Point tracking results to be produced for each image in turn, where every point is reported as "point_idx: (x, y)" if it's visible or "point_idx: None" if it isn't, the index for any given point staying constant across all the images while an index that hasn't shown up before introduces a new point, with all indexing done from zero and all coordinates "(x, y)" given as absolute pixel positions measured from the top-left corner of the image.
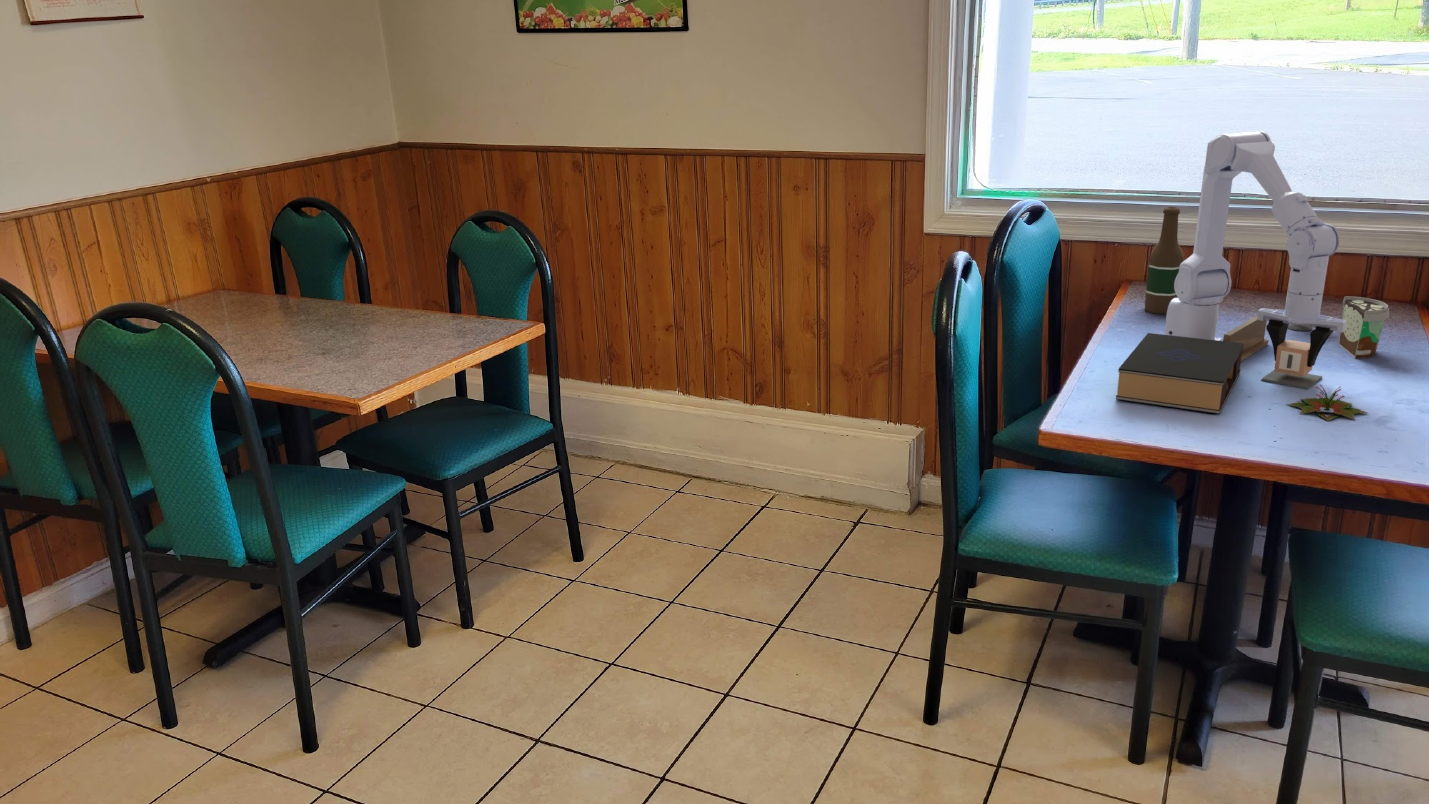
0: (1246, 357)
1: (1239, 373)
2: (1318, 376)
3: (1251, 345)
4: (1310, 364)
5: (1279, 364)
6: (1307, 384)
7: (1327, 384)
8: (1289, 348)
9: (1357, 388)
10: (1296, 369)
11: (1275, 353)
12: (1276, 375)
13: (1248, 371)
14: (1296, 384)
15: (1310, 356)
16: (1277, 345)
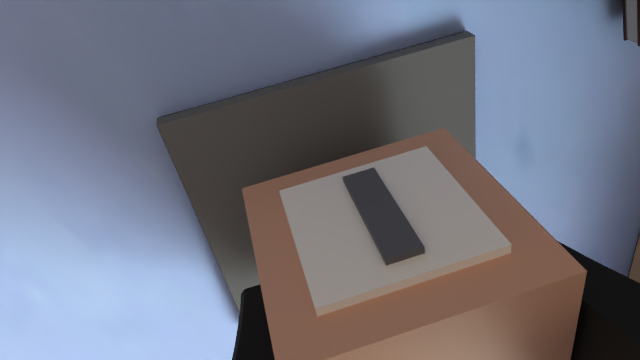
0: (632, 275)
1: (623, 8)
2: None
3: None
4: (246, 303)
5: (440, 163)
6: (202, 173)
7: (162, 282)
8: (460, 305)
9: (18, 350)
10: (299, 194)
11: None
12: None
13: (580, 128)
14: (246, 115)
15: (257, 354)
16: (588, 292)
